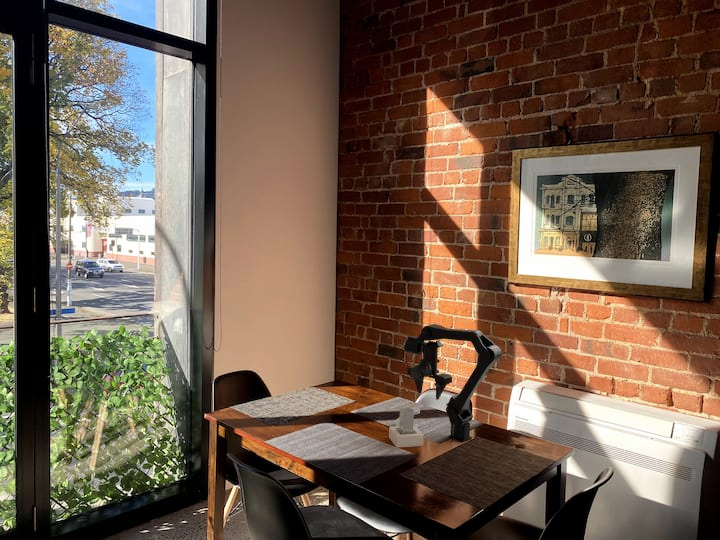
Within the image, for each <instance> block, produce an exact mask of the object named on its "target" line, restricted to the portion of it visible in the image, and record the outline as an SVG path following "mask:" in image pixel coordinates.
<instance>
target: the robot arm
mask: <svg viewBox="0 0 720 540" xmlns="http://www.w3.org/2000/svg"><path fill="white" fill-rule="evenodd" d="M406 339H407V340H405V343H404V345H403V348H404V349H403V350H404V352H405V353H407V354H411V355H417V356H420V355H422V358H420V360H419V364H417V365H413V366H408V369H407V371H406V372H407V375H408V376H409V378H412V379H413V381H414V383H415V387H416V390H417V393H418V395H421V393H422V390H423V386H424V381H425V378H431V379H434V383H433V384H434V385H435V400H436V401H437V400H439V399H440V398H441V396H442V394H443V392H444V390H445V389H446V387H447V385H450V384H451V383H453V376H452V375H451V374H448V373H443V372H442V373H440V369H438V363H440V361H441V359H438V357H439V356H438V355H439V354H438V353H439V348H441V347H444V344H443V343H442V342H441V341H440V340H452V341H463V342H470V343H471V344H472V345H473V348H474V350H475V352H476V353H477V354H478V356H477V362H476V366H475V368H474V370H473V371H472V372H471V374H470V375H469V378H468V379H467V381H466V382H465V384H464V386H463V387H462V389H461V391H460V392H459V393H456V394H454V395H452V396H450V398H449V400H448V403H446V404H445V406H446V409H445V412H446V415H447V416H448V419H449V423H450V435H448V438H450V439H452V440H455V441H457V442H460V443H464V442H466V441H469V440H471V439H473V436H470V432H471V423H470V422H471V421H473V417H474V415H473V413H472V412H471V411H470V409H469V407H470V403H471V398H472V397H473V395H474V394H475V392H476V391H477V389H478V387H479V385H480V384H481V382H482V381H483V379H484V378H485V376H486V374H487V373H488V372H489V370H490V369H491V368H492V367H493V366H494V365H496V364H497V362H499V360H500V359H501V358H502V355H503V353H502V349H501V347H499V346H498V345H496V344H495V343H494V342H493V341H492V340H491V339H489V338H488V337H487V336H486V335H485V334H483V332H482V331H481V330H478V329H477V330H475V329H474V330H472V329H471V330H470V329H469V330H468V329H460V328H459V329H458V328H450V327H449V328H447V327H445V326H443V325H440V324H436V323H432V324H428V325H425V326H423V327H422V329H421V331H420V334H419V335H418V336H417V337H415V336H413V335H409V336H407V338H406ZM439 373H440V374H439Z"/></svg>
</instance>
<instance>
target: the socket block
mask: <svg viewBox="0 0 720 540" xmlns="http://www.w3.org/2000/svg"><path fill="white" fill-rule="evenodd" d="M424 437H425V435H424V434H423V433H422V432H421V430H420V429H419V428H418V427H417V426H416V425H415V424H413V434H402V435H400V434H399V426H395V427H390V426H389V428H388V439H389V440H390V442H392V443H393V445H394V446H395V447H396V448H410V447H413V448H414V447H424Z"/></svg>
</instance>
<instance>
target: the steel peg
mask: <svg viewBox="0 0 720 540" xmlns="http://www.w3.org/2000/svg"><path fill="white" fill-rule="evenodd" d="M413 410H414V409H413V408H412V407H410V408H408V407H400V408H399V417H400V422H399V434H400V435H402V434H413V426H414V419H415V415H414V411H413Z"/></svg>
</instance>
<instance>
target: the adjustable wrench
mask: <svg viewBox="0 0 720 540" xmlns="http://www.w3.org/2000/svg"><path fill="white" fill-rule="evenodd" d="M407 408H411V407H407ZM412 410H413V411H414V416H415V415H419V414H421V409H420V408H419V407H415V409H412ZM399 422H400V416H399V417H398V418H396V419H395V420H393V421H392V422H391V423H390V424H389V427H395V426H399Z"/></svg>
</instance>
